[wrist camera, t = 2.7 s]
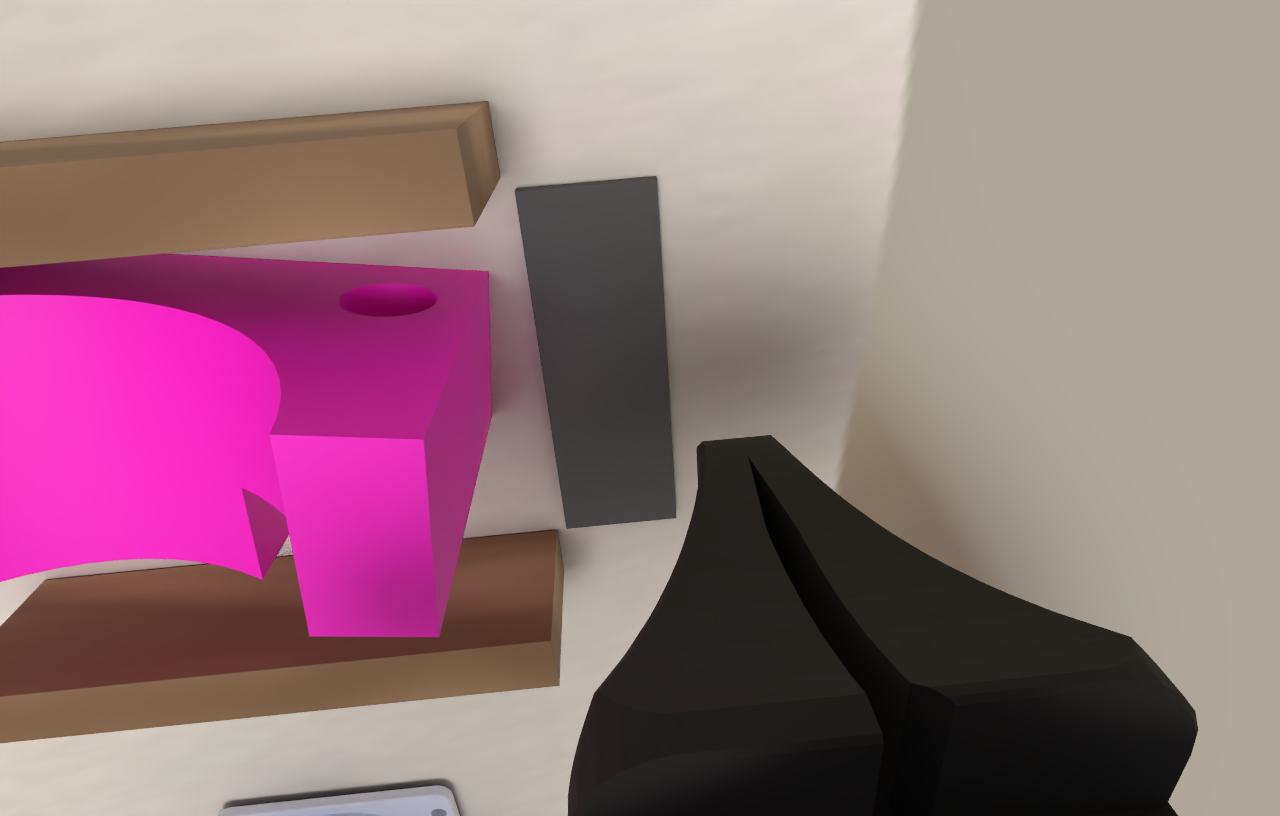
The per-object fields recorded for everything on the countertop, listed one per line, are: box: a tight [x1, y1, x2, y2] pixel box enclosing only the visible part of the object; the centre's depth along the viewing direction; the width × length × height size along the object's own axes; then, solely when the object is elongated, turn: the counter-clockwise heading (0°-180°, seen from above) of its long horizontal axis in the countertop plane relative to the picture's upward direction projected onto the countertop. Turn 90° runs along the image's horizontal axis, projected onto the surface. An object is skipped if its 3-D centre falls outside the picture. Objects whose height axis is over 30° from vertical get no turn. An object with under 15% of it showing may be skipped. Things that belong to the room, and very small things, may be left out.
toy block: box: [0, 254, 492, 637], centre depth 14 cm, size 15×6×8 cm, turn 85°
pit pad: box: [515, 176, 676, 529], centre depth 17 cm, size 9×3×1 cm, turn 4°
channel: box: [0, 101, 564, 743], centre depth 15 cm, size 12×14×4 cm
